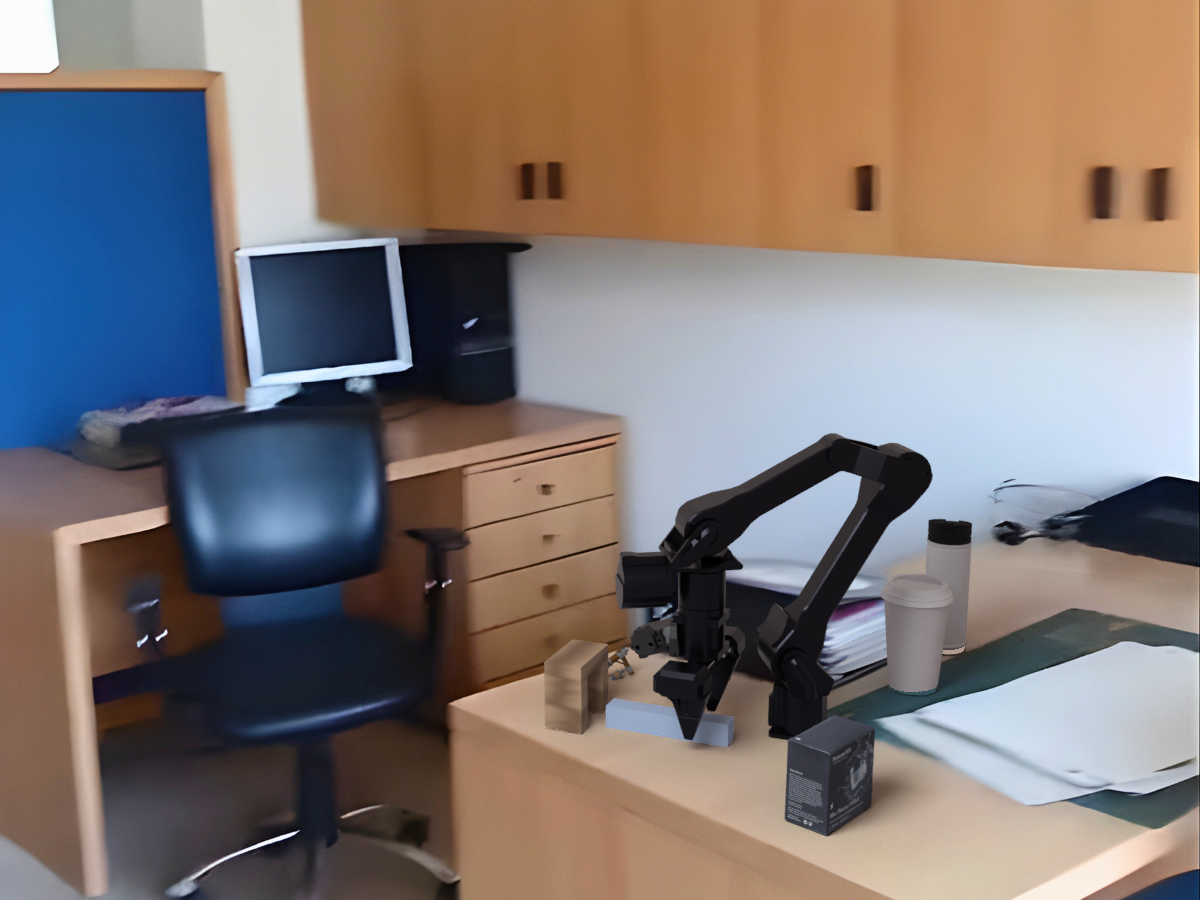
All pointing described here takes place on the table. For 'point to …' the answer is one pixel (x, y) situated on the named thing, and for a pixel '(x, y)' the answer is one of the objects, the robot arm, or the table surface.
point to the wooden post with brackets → (620, 655)
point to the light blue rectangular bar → (667, 722)
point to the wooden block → (575, 685)
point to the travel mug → (951, 572)
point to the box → (829, 774)
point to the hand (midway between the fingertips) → (700, 724)
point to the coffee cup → (915, 629)
